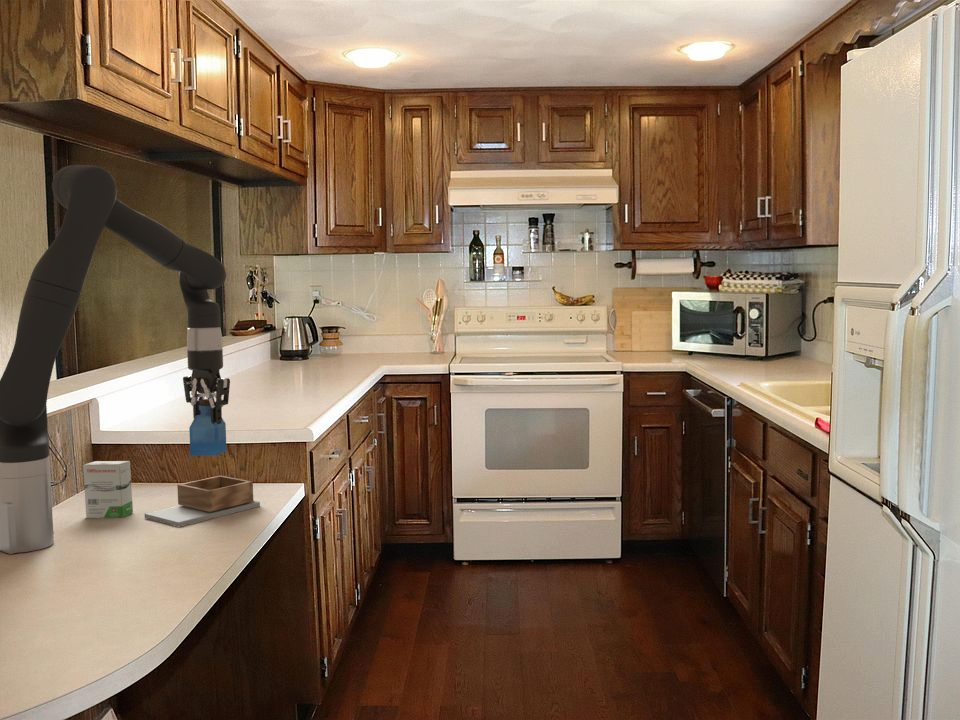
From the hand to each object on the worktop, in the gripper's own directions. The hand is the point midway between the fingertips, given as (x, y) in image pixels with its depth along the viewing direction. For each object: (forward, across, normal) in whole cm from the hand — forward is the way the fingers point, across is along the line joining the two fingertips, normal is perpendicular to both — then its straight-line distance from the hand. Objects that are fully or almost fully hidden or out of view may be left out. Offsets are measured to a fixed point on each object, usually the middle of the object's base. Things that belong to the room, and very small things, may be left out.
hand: (207, 422), depth 194 cm
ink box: (+20, +14, +16) cm, 29 cm away
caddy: (+18, -2, 0) cm, 18 cm away
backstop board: (+19, -2, +3) cm, 20 cm away
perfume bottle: (+7, 0, 0) cm, 7 cm away
